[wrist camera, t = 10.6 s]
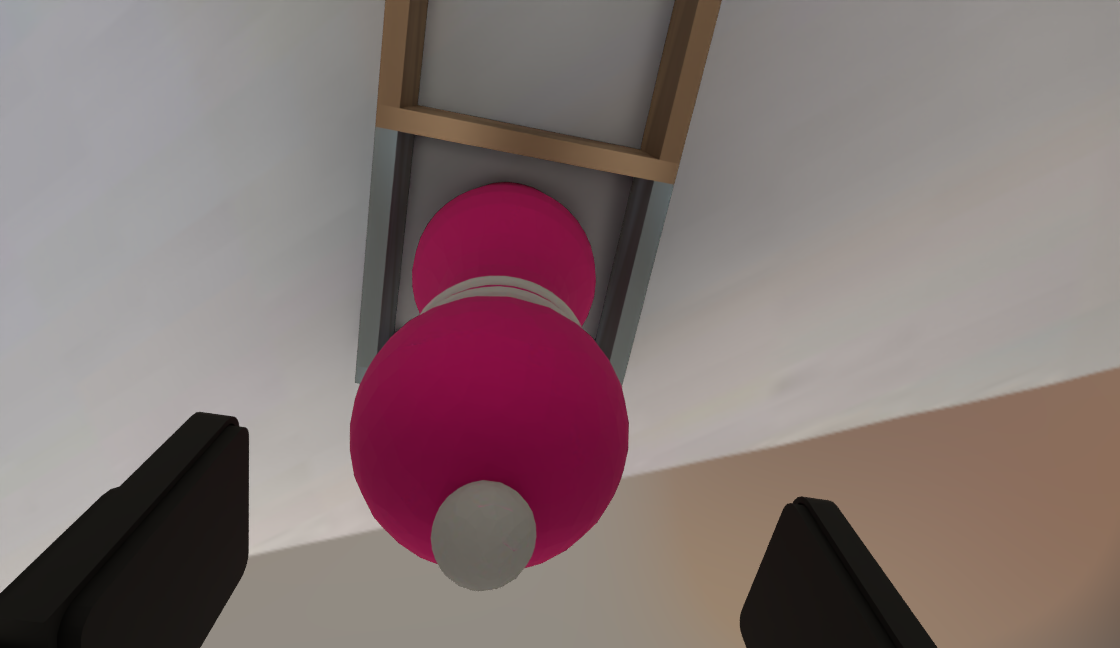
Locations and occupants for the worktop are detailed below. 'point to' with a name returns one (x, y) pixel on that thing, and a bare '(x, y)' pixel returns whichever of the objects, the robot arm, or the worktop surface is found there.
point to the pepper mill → (492, 394)
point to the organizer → (646, 165)
